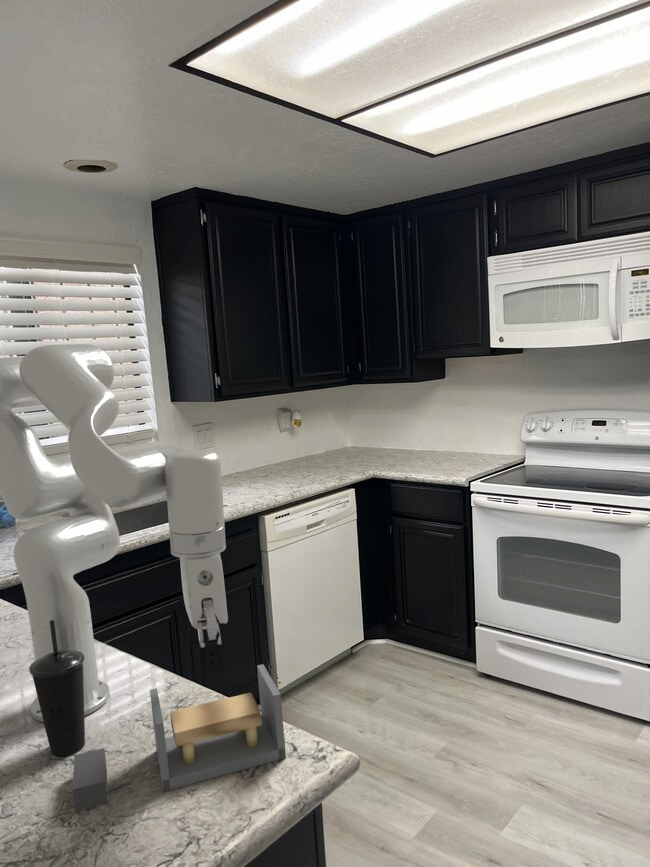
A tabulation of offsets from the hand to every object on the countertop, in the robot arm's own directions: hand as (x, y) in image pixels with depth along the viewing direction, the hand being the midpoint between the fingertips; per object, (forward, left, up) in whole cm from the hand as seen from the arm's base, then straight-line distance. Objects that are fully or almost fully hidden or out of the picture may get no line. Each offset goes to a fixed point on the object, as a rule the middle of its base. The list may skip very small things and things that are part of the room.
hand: (205, 656), depth 93 cm
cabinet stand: (+1, +1, -15) cm, 15 cm away
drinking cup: (-11, -20, -15) cm, 28 cm away
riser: (+1, -17, -15) cm, 22 cm away
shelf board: (+1, 0, -10) cm, 10 cm away
